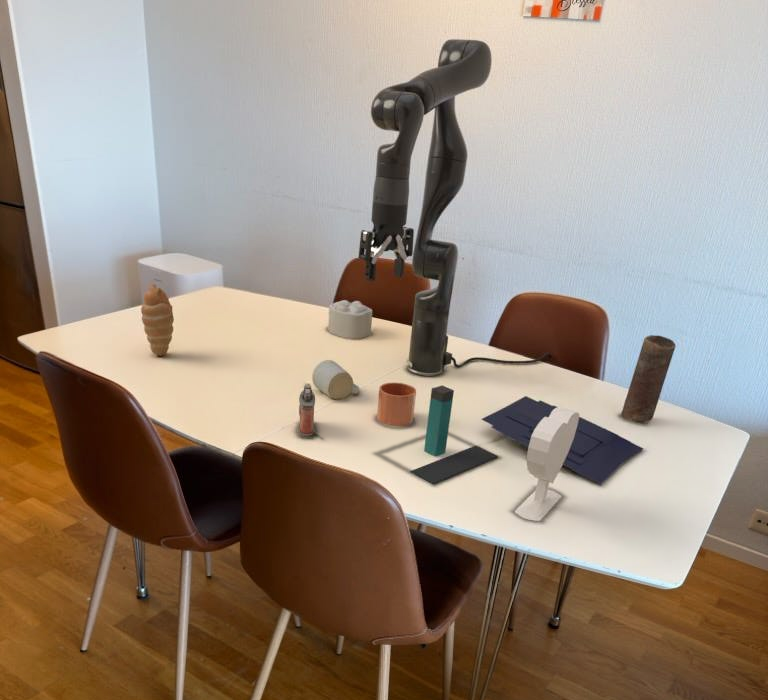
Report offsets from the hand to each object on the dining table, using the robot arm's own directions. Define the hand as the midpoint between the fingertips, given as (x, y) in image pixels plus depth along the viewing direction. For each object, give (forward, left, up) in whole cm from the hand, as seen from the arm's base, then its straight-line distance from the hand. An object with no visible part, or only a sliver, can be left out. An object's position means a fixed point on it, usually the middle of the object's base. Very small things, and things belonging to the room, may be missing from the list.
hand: (384, 278), depth 159 cm
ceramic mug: (+7, -6, -28) cm, 30 cm away
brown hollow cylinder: (-45, +46, -28) cm, 70 cm away
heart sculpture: (+10, +56, -28) cm, 64 cm away
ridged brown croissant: (+29, -51, -28) cm, 65 cm away
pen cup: (+6, +13, -28) cm, 32 cm away
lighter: (+26, +6, -28) cm, 39 cm away
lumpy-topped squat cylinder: (-28, -42, -28) cm, 58 cm away
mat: (+11, +31, -28) cm, 43 cm away
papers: (-16, +43, -28) cm, 54 cm away
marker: (+11, +30, -28) cm, 42 cm away
